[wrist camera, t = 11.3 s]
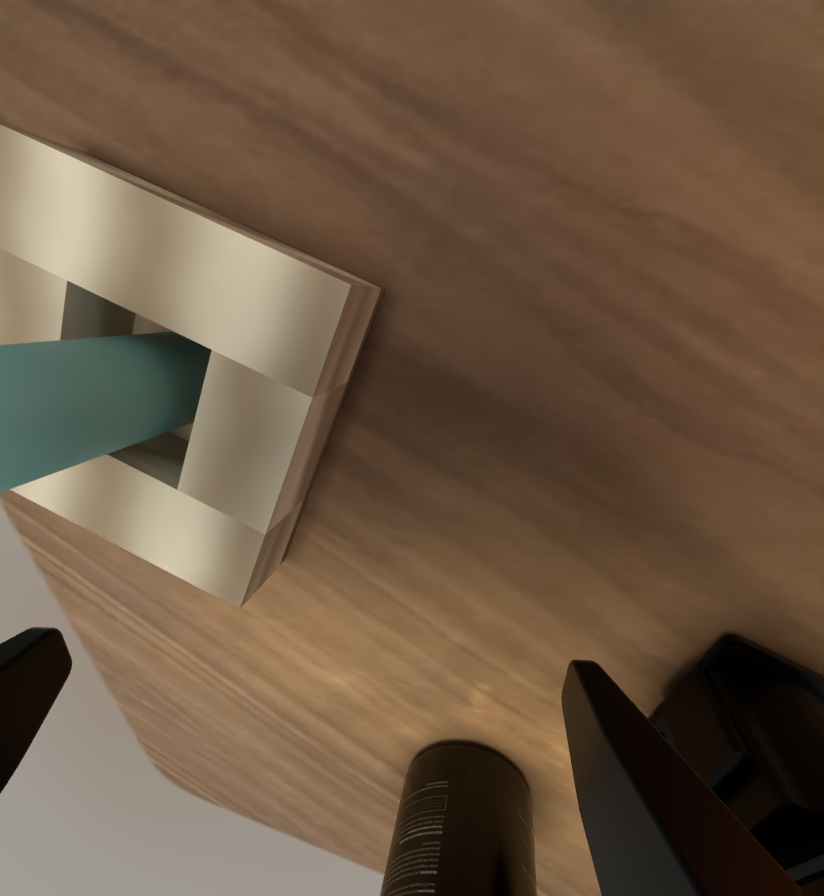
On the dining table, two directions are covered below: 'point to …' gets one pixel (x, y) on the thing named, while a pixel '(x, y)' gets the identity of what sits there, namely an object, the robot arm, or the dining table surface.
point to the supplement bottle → (462, 828)
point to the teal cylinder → (92, 398)
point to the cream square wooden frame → (199, 319)
